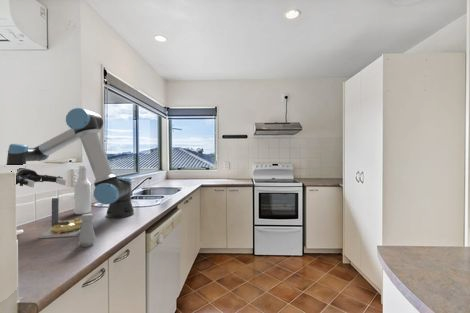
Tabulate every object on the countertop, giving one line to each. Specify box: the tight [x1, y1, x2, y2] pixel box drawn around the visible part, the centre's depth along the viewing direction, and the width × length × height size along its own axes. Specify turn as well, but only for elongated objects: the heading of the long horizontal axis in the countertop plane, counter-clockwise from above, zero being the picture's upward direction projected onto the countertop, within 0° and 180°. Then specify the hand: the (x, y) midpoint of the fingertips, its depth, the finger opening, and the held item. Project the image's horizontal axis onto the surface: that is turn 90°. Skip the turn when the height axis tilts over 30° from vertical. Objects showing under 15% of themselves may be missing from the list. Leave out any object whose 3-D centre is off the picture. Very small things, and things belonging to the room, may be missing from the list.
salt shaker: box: [78, 212, 96, 248], centre depth 94 cm, size 6×6×13 cm
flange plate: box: [39, 228, 81, 239], centre depth 110 cm, size 14×18×2 cm
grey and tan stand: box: [50, 197, 83, 232], centre depth 110 cm, size 13×13×15 cm
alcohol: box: [73, 164, 92, 215], centre depth 142 cm, size 9×9×30 cm
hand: (50, 183), depth 109 cm, fingers open, 13 cm apart
